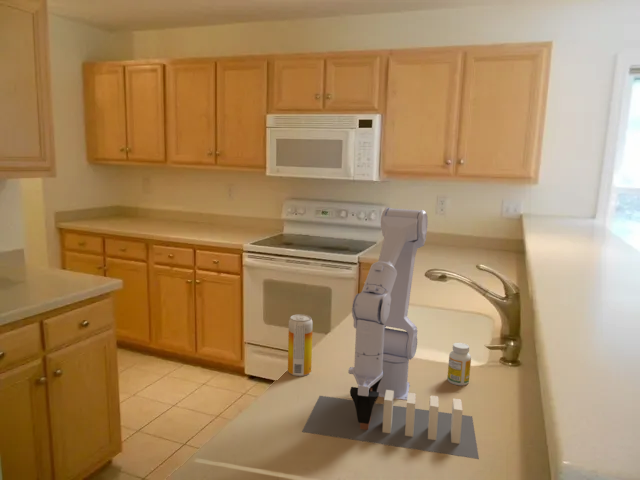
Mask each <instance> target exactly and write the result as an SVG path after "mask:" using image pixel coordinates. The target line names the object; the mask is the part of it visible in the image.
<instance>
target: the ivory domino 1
mask: <svg viewBox="0 0 640 480" xmlns="http://www.w3.org/2000/svg"><path fill="white" fill-rule="evenodd" d="M383 398H384V399H383V404H384V411H383V430H382V432H385V433H390V432H391V426H392V416H393V406H394V399H393V398H394V391H392V390H386V393H385V397H383Z"/></svg>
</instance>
